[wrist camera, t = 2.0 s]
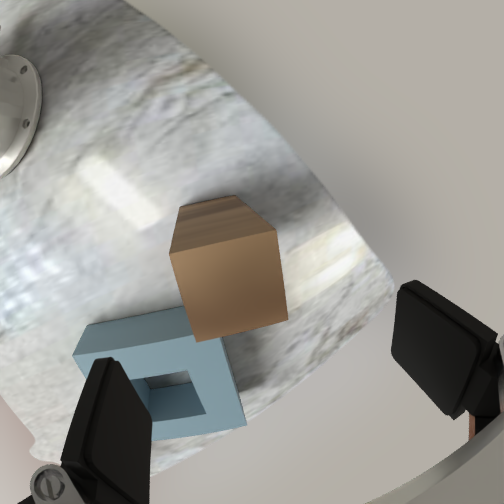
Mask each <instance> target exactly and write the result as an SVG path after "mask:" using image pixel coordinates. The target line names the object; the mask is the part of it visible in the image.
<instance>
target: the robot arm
mask: <svg viewBox="0 0 504 504" xmlns="http://www.w3.org/2000/svg"><path fill="white" fill-rule="evenodd" d="M0 29H1V26H0ZM41 104H42V87H41V79H40V77H39V74H38V71H37V69H36V68H35V66H34V65H33V63H31V62H30V61H29V60H27V59H26V58H24V57H21V56H20V55H13V54H11V55H4V56H2V57H0V179H1V178H3V177H4V176H6V175H7V174H8V173H10V172H11V171H12V170H13V168H14V167H15V166H16V165H17V164H18V163H19V161H20V160H21V158H22V157H23V155H24V154H25V152H26V150H27V148H28V146H29V145H30V143H31V140H32V138H33V135H34V133H35V130H36V127H37V123H38V120H39V116H40V110H41ZM497 335H498V334H497V333H496V332H495V331H493V330H492V329H490V328H489V327H488V326H486V325H485V324H483V323H482V322H480V321H479V320H478V319H476V318H475V317H473V316H472V315H470V314H469V313H467V312H466V311H464V310H463V309H461V308H460V307H458V306H457V305H455V304H454V303H452V302H451V301H449V300H448V299H446V298H445V297H443V296H442V295H440V294H438V293H437V292H435V291H434V290H432V289H431V288H429V287H428V286H426V285H424V284H423V283H421V282H420V281H418V280H413V281H410V282H407V283H405V284H402V285H401V287H400V290H399V291H398V292H397V301H396V313H395V322H394V332H393V339H392V346H391V354H392V356H393V358H394V359H395V361H396V362H397V363H398V364H399V365H400V366H401V367H402V368H403V369H404V370H405V371H406V372H407V373H408V375H409V376H410V377H411V378H412V379H413V380H414V381H415V382H416V383H417V384H418V385H419V387H420V388H421V389H422V390H423V391H424V392H425V393H426V394H427V395H428V397H429V398H430V399H431V400H432V401H433V402H434V403H435V404H436V405H437V407H438V408H439V409H440V410H441V411H442V412H443V413H444V414H445V415H449V416H450V417H451V418H452V419H453V420H455V419H456V418H458V417H459V416H460V415H461V414H463V413H464V412H465V410H467V411H468V412H469V441H468V442H467V443H466V444H465V445H463V446H462V447H460V448H459V449H458V450H456V451H455V452H454V453H452V454H451V455H450V456H448V457H447V458H445V459H444V460H442V461H441V462H439V463H438V464H436V465H435V466H433V467H432V468H430V469H429V470H427V471H426V472H424V473H422V474H421V475H419V476H417V477H416V478H414V479H412V480H411V481H409V482H407V483H405V484H403V485H402V486H400V487H398V488H396V489H394V490H392V491H390V492H388V493H386V494H384V495H382V496H380V497H378V498H376V499H374V500H372V501H370V502H367V503H365V504H504V335H503V336H502V337H501V338H500V341H499V344H498V343H496V342H495V341H496V338H497ZM152 425H153V423H152V418H151V415H150V413H149V412H148V410H147V408H146V407H145V405H144V404H143V402H142V400H141V399H140V397H139V395H138V394H137V392H136V390H135V388H134V387H133V385H132V383H131V381H130V380H129V378H128V376H127V374H126V372H125V371H124V369H123V367H122V365H121V363H120V362H119V361H115V360H114V358H112V357H105V358H98V359H95V360H94V362H93V364H92V367H91V369H90V372H89V374H88V377H87V380H86V382H85V385H84V388H83V390H82V393H81V396H80V399H79V401H78V404H77V407H76V410H75V413H74V416H73V419H72V422H71V425H70V428H69V432H68V435H67V438H66V441H65V445H64V448H63V452H62V456H61V459H60V460H61V461H62V463H61V467H59V466H57V465H53V464H50V465H45V466H42V467H40V468H39V469H38V470H37V471H36V472H35V473H34V474H33V476H32V478H31V481H30V490H31V494H32V495H30V496H29V497H27V498H26V499H24V500H23V501H21V502H19V503H18V504H149V489H150V485H149V484H150V457H151V439H152Z"/></svg>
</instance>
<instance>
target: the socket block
mask: <svg viewBox="0 0 504 504" xmlns="http://www.w3.org/2000/svg"><path fill="white" fill-rule="evenodd" d="M72 356H73V358H74V360H75V362H76V363H77V365H78V367H79V368H80V370H81V372H82V373H83V375H84V376H85V378H86V380H87V377H88V374H89V372H90V369H91V367H92V364H93V362H94V360H95V359H98V358H105V357H112V358H114V360H115V361H119V362H120V363H121V365H122V367H123V369H124V371H125V372H126V374H127V376H128V378H129V380H130V381H131V383H132V385H133V387H134V388H135V390H136V392H137V394H138V395H139V397H140V399H141V400H142V402H143V404H144V405H145V407H146V408H147V410H148V412H149V413H150V415H151V418H152V423H153V425H152V439H151V441H156V440H165V439H174V438H182V437H189V436H195V435H201V434H207V433H213V432H218V431H223V430H228V429H233V428H237V427H242V426H246V425H247V423H246V419H245V415H244V411H243V407H242V403H241V399H240V396H239V392H238V389H237V385H236V382H235V379H234V376H233V372H232V369H231V366H230V362H229V359H228V355H227V352H226V349H225V345H224V342H223V338H222V337H220V338H215V339H211V340H206V341H202V342H197V343H196V340H195V337H194V334H193V331H192V328H191V325H190V322H189V319H188V316H187V313H186V310H185V307H184V306H181V307H176V308H172V309H167V310H162V311H158V312H153V313H148V314H143V315H138V316H133V317H128V318H123V319H118V320H113V321H108V322H103V323H97V324H92V325H87V326H86V328H85V330H84V332H83V334H82V336H81V338H80V340H79V342H78V345H77V347H76V349H75V351H74V353H73V355H72ZM186 370H187V371H188V373H189V376H190V378H191V380H192V383H186V384H181V385H175V386H169V387H163V388H157V389H150V388H149V386H148V384H147V383H146V381H145V379H144V378H145V377H152V376H158V375H164V374H170V373H176V372H181V371H186Z"/></svg>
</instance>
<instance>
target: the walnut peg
mask: <svg viewBox="0 0 504 504" xmlns="http://www.w3.org/2000/svg"><path fill="white" fill-rule="evenodd" d="M169 256H170V260H171V263H172V267H173V270H174V274H175V277H176V281H177V284H178V287H179V291H180V294H181V297H182V300H183V304H184V307H185V310H186V313H187V316H188V319H189V322H190V325H191V328H192V331H193V334H194V337H195V340H196V343H197V342H202V341H206V340H211V339H215V338H220V337H224V336H228V335H232V334H237V333H241V332H245V331H249V330H253V329H257V328H260V327H264V326H268V325H272V324H275V323H279V322H283V321H286V320H288V313H287V305H286V297H285V289H284V282H283V274H282V267H281V259H280V252H279V245H278V238H277V231H276V229H275V228H273V227H272V226H271V225H270V224H269V223H268V222H266V221H265V220H264V219H263V218H262V217H261V216H259V215H258V214H257V213H256V212H255V211H253V210H252V209H251V208H250V207H249V206H247V205H246V204H245V203H244V202H243V201H241V200H240V199H239V198H238V197H237V196H235V195H232V196H227V197H223V198H218V199H213V200H209V201H204V202H200V203H195V204H191V205H186V206H182V207H180V208H179V213H178V217H177V221H176V225H175V229H174V234H173V238H172V243H171V247H170V252H169Z"/></svg>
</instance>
